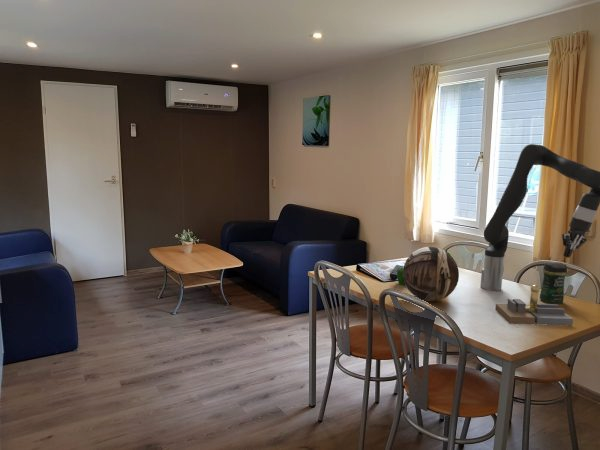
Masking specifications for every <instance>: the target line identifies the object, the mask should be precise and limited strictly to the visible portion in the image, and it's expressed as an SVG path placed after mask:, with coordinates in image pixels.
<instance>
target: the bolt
mask: <svg viewBox="0 0 600 450" xmlns="http://www.w3.org/2000/svg"><path fill="white" fill-rule="evenodd" d="M540 289H541V288H540V286H539V285H537V284H533V285H532V286H531V287H530V297H529V298H530V299H529V305H530V306H526V308H525V311H529V312H536V309H537V308H538V307H537V304H538V303H539V302H538V300H539V294H540V293H539V292H541V290H540ZM516 310H517V306H516Z"/></svg>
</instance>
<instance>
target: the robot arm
mask: <svg viewBox="0 0 600 450" xmlns="http://www.w3.org/2000/svg"><path fill="white" fill-rule="evenodd" d="M533 166H542V167H543V166H544V167H547V168H550V169H553V170H555V171H556V172H558V173H560V174H561V175H562V176H564V177H566V178H569V179H571V180H573V181H575V182H579V183H581V184H582V185H585V186H587V187H588V188H590V189H589V191H588V192H587V193H583V194H582V196H581V198H580V200H579V202H578V203H577V204H578V205H577V206H576V208H575V210H574V212H573V215H572V217H571V219H570V221H569V225H568V226H569V229H568V230H567V232H566V233H562V234H561V236H562V244H563V246H564V247H565V249H564V252H563V257H566V258H571V256H572V254H573V252H574V251H575V250H578V249H580V248H581V246H583V245H584V244H585V243H586V242H587V239H586V237H585V235H586V233H589V231H590V229H591V226H592V224H593V222H594V220H595V218H596V215H597V211H598V209H599V206H600V171H599V170H596V169H593V168H590V167H588V166H586V165H585V164H582V163H579V162H576V161H575V160H571V159H568V158H566V157H564V156H561V155H559V154H558V153H555V152H554V151H552V150H551V149H549V148H547V147H545V146H544V145H541V144H534V143H531V144H529V143H528V144H527V145H525V146H523V148H522V150H521V152H520V154H519V157H518V160H517V163H516V165H515V167H514V171H513V173H512V174H511V177H510V179H509V181H508V183H507V185H506V187H505V189H504V192H503V193H502V196H501V198H500V201H499V203H498V204H497V206H496V209H495V211H494V213H493V215H492V216H491V218H490V220H489V221H488V223H487V225H486V226H485V228H484V230H483V238H484V240H485V241H486V242H487V243H488V245H487V247H486V248H485V250H484V258H483V259H484V260H483V268H482V269H481V275H480V276H481V277H480V289H481V288H482V289H484V290H487V291H493V292H494V291H496V292H499V291H501V290H502V287H503V275H504V265H505V255H506V253H507V249H508V243H509V242H508V241H509V236H510V235H509V234H510V233H509V228H508V226H506V223H507V222H508V221H509V219H510V218H511V217H512V216H513V214H515V213H516V211H517V210H518V209H519V208H520V207H521V205H522V204H523V202H524V199H525V197H526V195H527V191H528V177H529V174H530V172H531V170H532V168H533Z"/></svg>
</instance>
